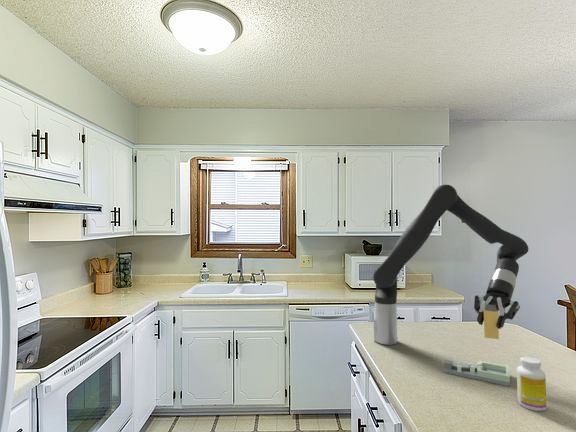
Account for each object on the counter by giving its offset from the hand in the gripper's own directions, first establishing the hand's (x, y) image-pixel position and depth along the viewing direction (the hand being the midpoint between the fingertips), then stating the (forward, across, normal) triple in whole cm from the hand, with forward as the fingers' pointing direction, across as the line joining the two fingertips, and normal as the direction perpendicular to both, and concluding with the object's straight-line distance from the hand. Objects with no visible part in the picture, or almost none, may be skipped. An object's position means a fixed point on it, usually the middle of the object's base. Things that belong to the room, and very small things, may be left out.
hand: (489, 325), depth 111 cm
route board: (+13, -4, +12) cm, 18 cm away
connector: (+2, 0, +4) cm, 5 cm away
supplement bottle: (+19, +14, +6) cm, 25 cm away
